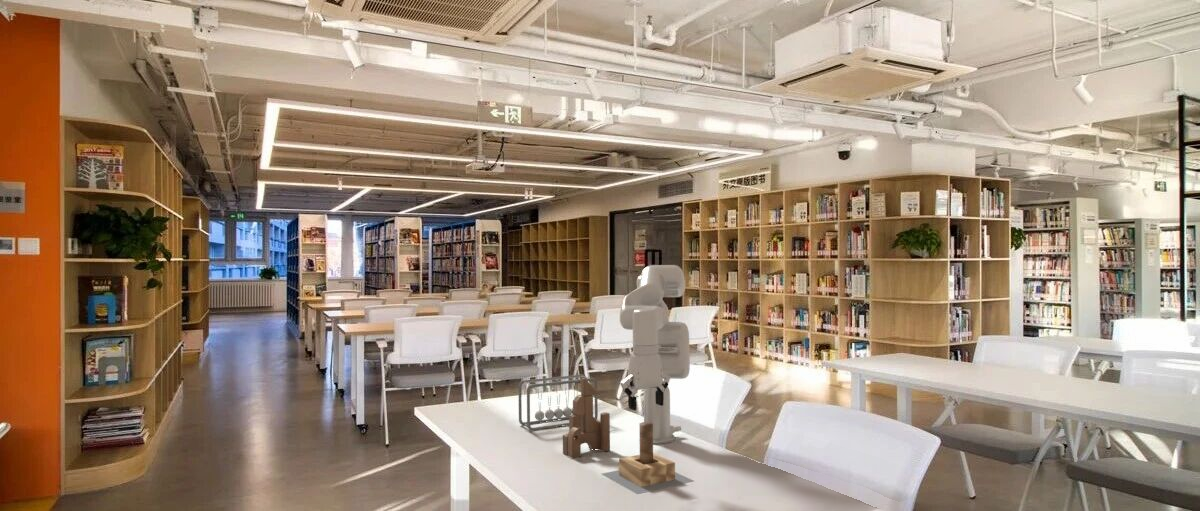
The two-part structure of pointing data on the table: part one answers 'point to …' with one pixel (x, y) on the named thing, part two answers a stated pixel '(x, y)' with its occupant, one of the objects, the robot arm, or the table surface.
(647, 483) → the square-hole wood block
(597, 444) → the wooden toy
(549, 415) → the newton's cradle
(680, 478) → the slate mat
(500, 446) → the table surface
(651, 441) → the walnut dowel
